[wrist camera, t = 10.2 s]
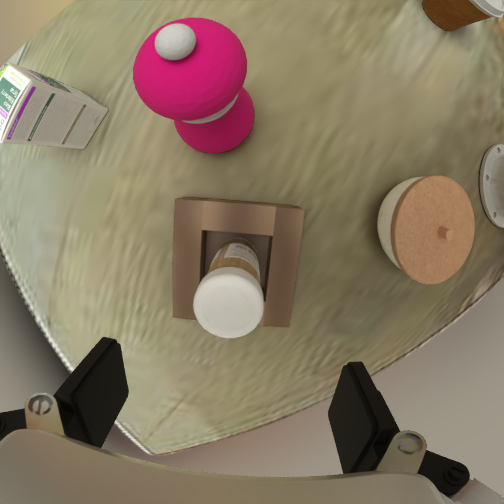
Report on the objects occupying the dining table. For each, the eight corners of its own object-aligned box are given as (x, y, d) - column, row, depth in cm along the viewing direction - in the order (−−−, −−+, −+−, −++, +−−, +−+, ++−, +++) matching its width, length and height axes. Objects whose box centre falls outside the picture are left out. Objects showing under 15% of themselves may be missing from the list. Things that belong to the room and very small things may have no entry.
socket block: (297, 206, 30) (305, 209, 26) (284, 310, 33) (288, 327, 29) (184, 196, 30) (175, 199, 26) (181, 302, 32) (173, 317, 29)
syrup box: (110, 109, 27) (32, 75, 13) (83, 152, 28) (-3, 143, 14) (81, 90, 26) (5, 57, 12) (57, 131, 27) (-25, 118, 13)
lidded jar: (370, 274, 32) (408, 306, 23) (354, 184, 29) (394, 186, 20) (439, 251, 31) (486, 271, 22) (429, 168, 29) (479, 168, 20)
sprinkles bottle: (208, 253, 31) (177, 302, 18) (241, 227, 30) (233, 260, 17) (234, 285, 32) (223, 352, 18) (268, 261, 31) (278, 315, 18)
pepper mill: (236, 167, 29) (213, 138, 10) (174, 143, 28) (65, 92, 9) (264, 107, 27) (289, -3, 8) (202, 84, 27) (144, -31, 7)
